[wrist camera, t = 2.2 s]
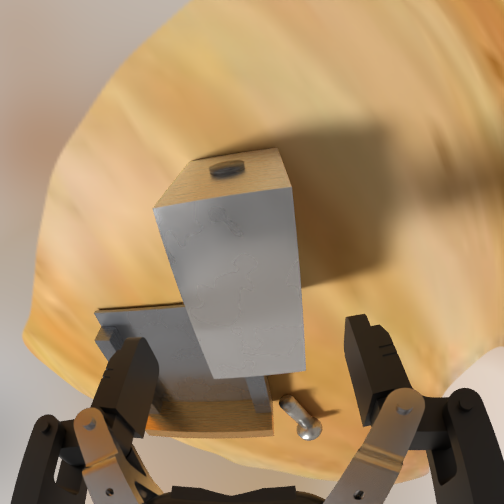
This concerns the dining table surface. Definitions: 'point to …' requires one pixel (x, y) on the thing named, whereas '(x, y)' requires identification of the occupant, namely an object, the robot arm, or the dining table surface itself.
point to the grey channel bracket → (188, 378)
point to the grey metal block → (237, 261)
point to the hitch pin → (301, 418)
